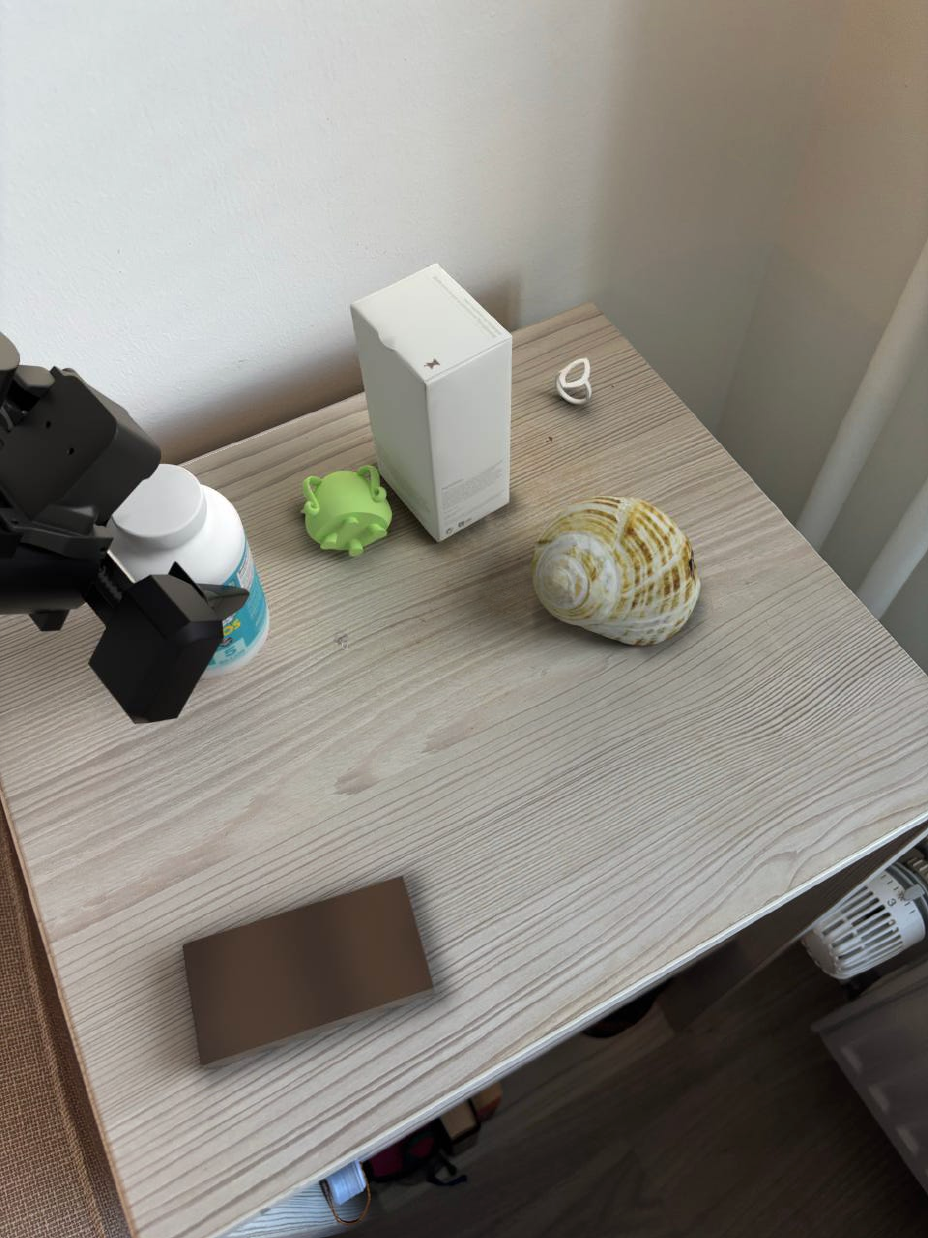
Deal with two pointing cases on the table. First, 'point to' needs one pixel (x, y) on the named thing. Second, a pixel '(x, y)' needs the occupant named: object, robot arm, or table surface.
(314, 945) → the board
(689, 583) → the seashell
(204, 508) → the pill bottle
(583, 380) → the ring
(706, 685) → the table surface
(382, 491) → the green footed pot
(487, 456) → the cosmetic box
